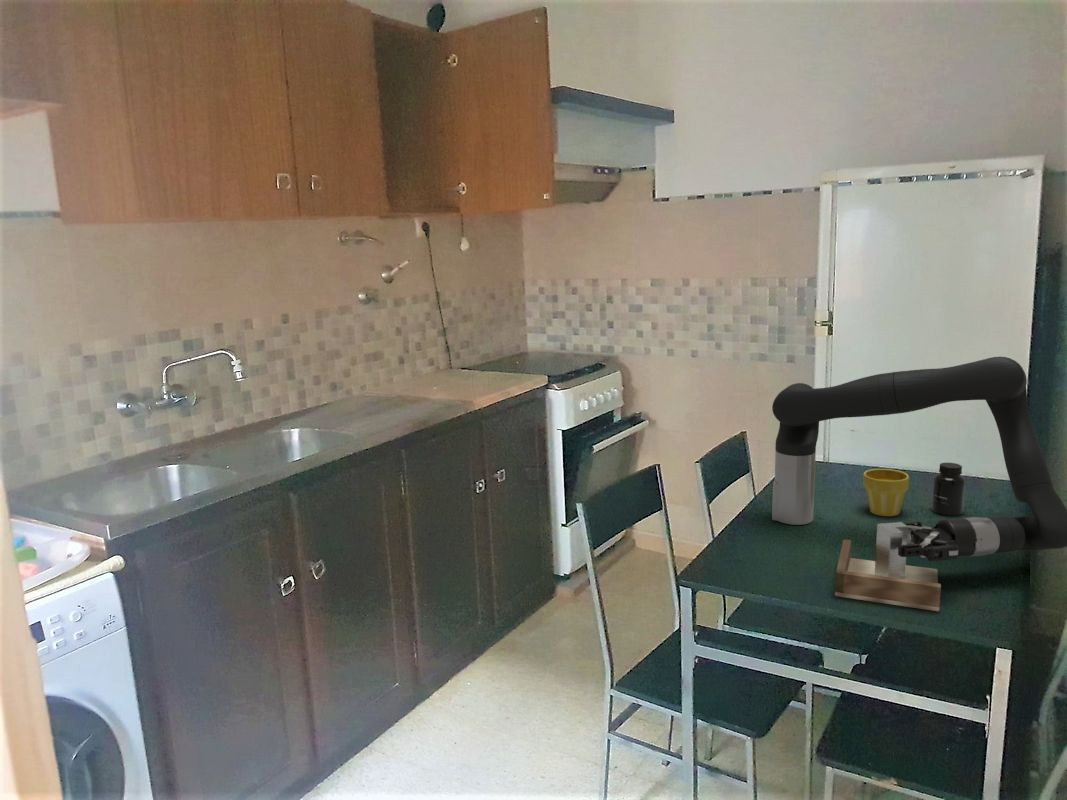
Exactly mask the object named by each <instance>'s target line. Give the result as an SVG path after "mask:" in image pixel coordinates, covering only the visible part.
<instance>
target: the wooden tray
mask: <svg viewBox="0 0 1067 800" xmlns="http://www.w3.org/2000/svg"><path fill="white" fill-rule="evenodd" d="M851 548H852V540H851V539H845V538H844V539H843V541H842V544H841V549H840V554H839V557H838V562H837V567H836V570H835V586H834V587H835V588H834V596H835V597H840V598H846V599H853V600H858V601H861V600H862V601H866V602H872V603H880V604H886V605H894V606H900V607H906V608H911V609H912V608H915V609H919V610H920V609H921V610H925V611H926V610H927V611H933V612H940V605H941V603H940V602H941V591H942V589H941V588H942V585H941V583H939V578H938V568H931V567H923V566H917V565H916V566H914V565H909V564H908V565H907V564H906V567H905V579H901V578H893V577H886V576H878V575H875V560H869V559H861V558H853V557H851V551H852V549H851Z"/></svg>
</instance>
